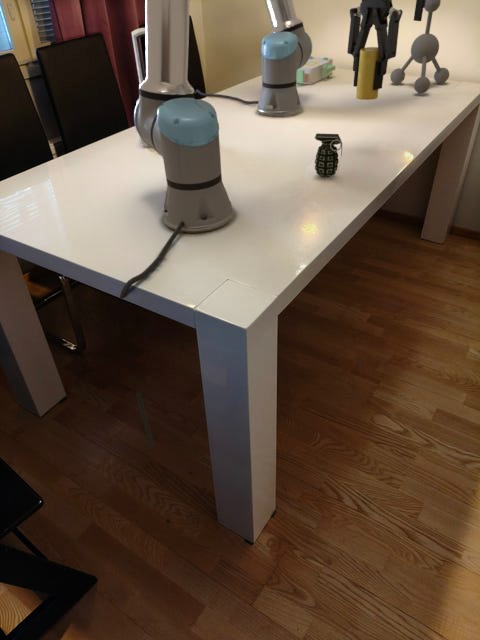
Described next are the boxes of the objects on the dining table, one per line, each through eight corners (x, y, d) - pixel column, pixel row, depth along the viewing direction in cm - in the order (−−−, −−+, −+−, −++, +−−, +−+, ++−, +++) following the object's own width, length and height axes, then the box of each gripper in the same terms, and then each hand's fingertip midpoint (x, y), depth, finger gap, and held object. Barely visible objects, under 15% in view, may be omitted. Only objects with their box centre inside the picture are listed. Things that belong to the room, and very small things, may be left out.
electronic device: (141, 147, 146) (122, 33, 128) (139, 140, 152) (119, 29, 134) (182, 142, 149) (168, 28, 130) (178, 135, 154) (164, 25, 136)
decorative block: (301, 54, 217) (341, 57, 207) (300, 70, 221) (340, 74, 211) (269, 65, 201) (312, 69, 191) (269, 82, 205) (311, 87, 195)
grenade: (312, 179, 121) (313, 138, 114) (314, 171, 125) (316, 131, 119) (338, 181, 119) (342, 139, 113) (340, 172, 124) (344, 132, 117)
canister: (369, 101, 124) (374, 51, 117) (351, 97, 127) (355, 49, 120) (381, 96, 127) (387, 48, 120) (364, 93, 130) (368, 46, 123)
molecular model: (468, 88, 182) (489, -8, 163) (419, 97, 176) (435, -2, 158) (427, 77, 199) (442, -12, 181) (381, 84, 193) (392, -7, 175)
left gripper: (424, -24, 107) (407, 89, 121) (357, -25, 119) (348, 79, 133) (404, -22, 103) (388, 95, 118) (336, -22, 115) (330, 84, 129)
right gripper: (384, -61, 133) (375, 28, 146) (454, -66, 141) (439, 19, 154) (367, -61, 139) (360, 26, 152) (436, -65, 146) (423, 17, 159)
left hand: (367, 87), depth 125 cm, fingers closed on canister, 5 cm apart
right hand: (400, 23), depth 153 cm, fingers open, 13 cm apart
